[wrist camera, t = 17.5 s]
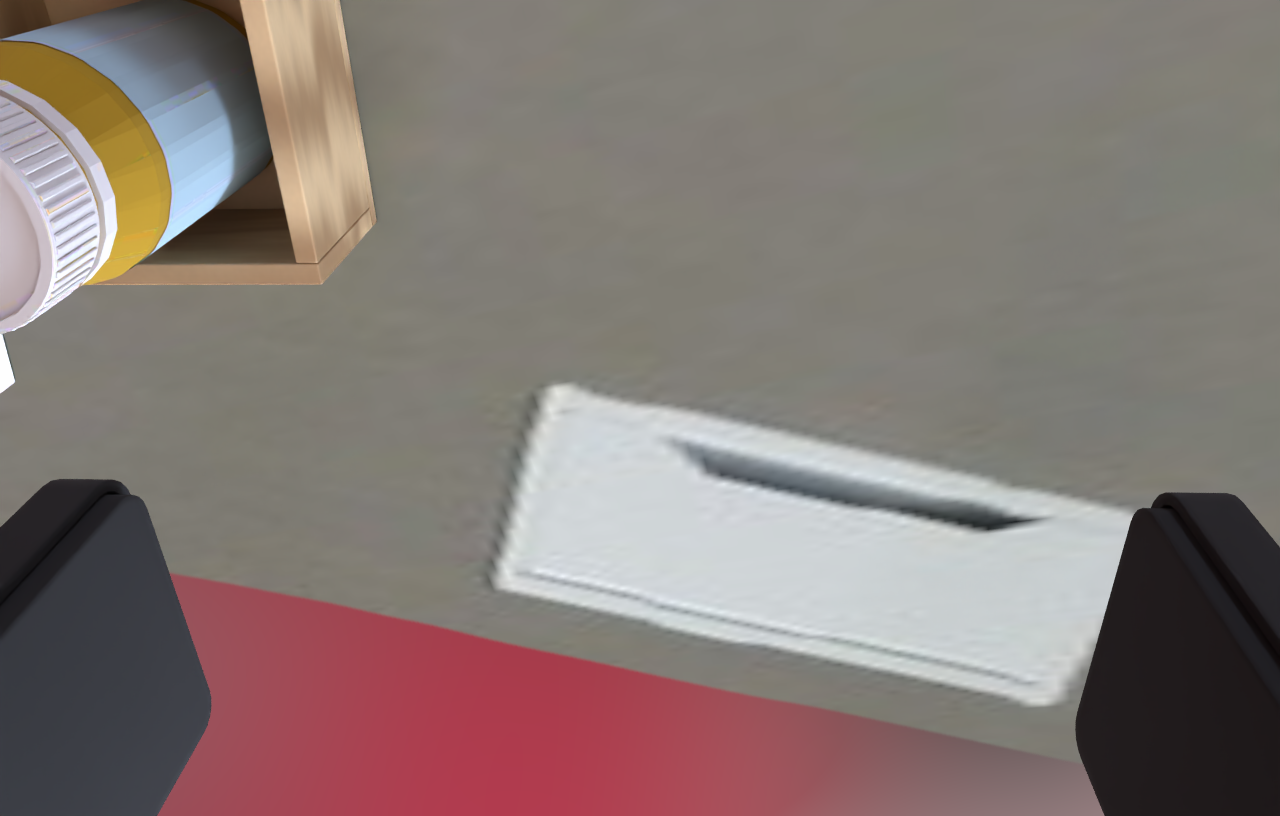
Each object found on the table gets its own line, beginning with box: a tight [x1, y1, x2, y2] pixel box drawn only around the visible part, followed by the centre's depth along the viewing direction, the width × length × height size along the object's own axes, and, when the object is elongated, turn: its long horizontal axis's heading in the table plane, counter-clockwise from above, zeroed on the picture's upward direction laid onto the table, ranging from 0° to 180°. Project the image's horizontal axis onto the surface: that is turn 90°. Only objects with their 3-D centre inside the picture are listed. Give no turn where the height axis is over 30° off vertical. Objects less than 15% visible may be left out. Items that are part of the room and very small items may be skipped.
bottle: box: [0, 0, 273, 334], centre depth 30 cm, size 7×7×15 cm
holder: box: [0, 0, 377, 285], centre depth 34 cm, size 12×12×7 cm
